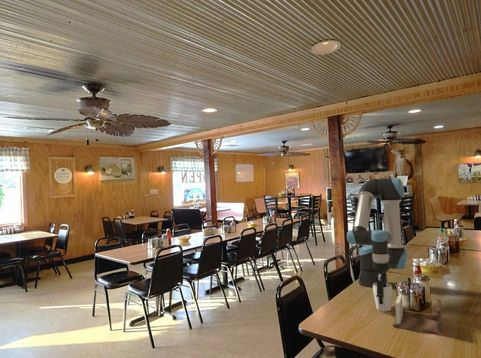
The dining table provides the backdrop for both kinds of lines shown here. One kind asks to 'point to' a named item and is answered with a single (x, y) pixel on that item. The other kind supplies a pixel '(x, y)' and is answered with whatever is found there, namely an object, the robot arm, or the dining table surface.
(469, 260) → the dining table surface
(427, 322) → the rack
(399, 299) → the divider
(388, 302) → the cup
